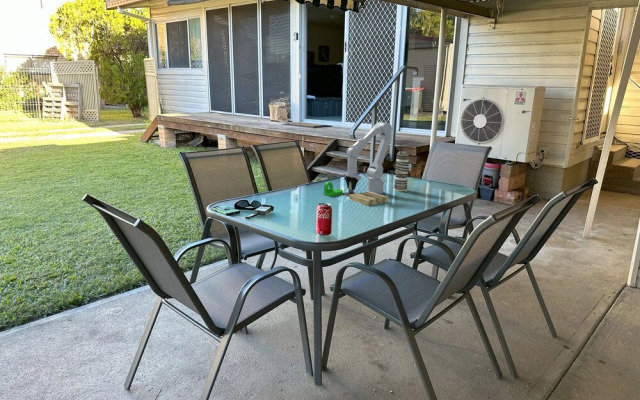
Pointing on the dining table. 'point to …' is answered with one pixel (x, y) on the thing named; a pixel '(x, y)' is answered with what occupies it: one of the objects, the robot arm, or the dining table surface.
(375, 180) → the robot arm
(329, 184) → the mechanical part
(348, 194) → the mat
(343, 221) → the dining table surface
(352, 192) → the pin
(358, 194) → the socket block
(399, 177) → the grey striped cylinder
